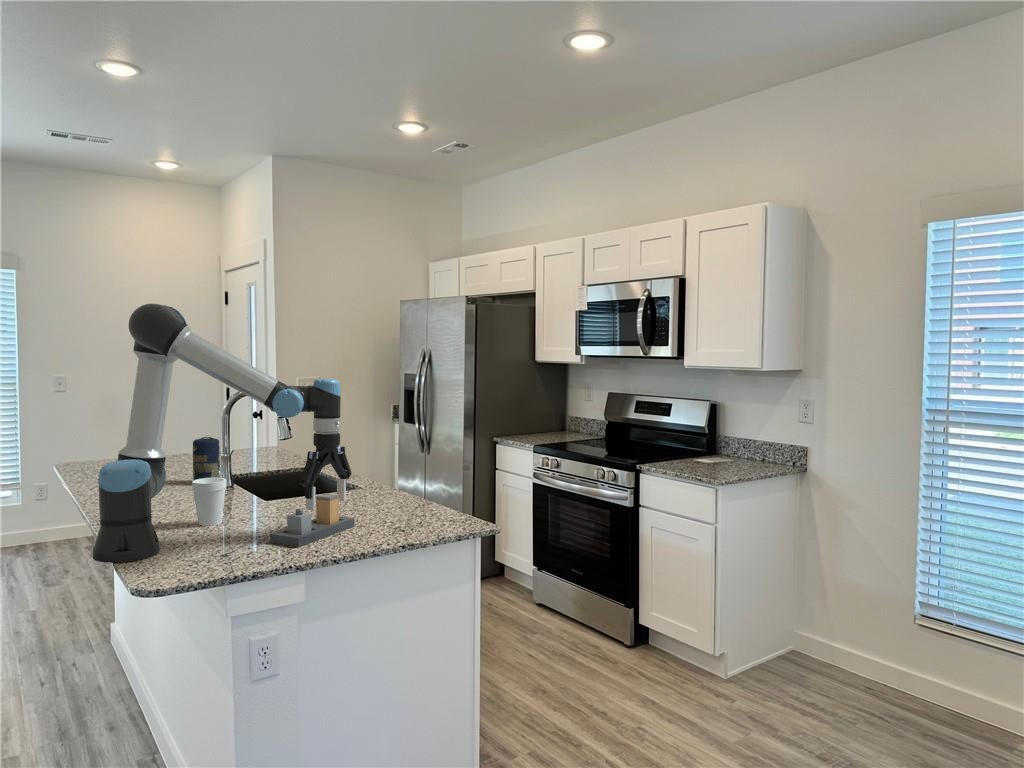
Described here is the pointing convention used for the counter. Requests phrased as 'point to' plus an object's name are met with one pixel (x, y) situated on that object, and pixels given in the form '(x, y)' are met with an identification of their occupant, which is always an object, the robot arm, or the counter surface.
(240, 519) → the counter surface
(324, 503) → the plug
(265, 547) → the counter surface
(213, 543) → the counter surface
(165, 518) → the counter surface
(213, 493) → the foam cup
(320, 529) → the gray fixture base
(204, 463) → the canister
